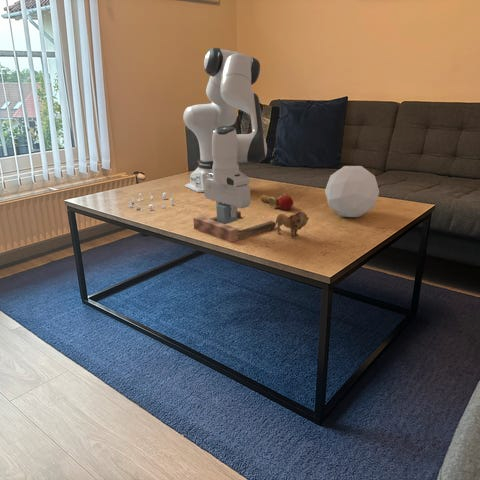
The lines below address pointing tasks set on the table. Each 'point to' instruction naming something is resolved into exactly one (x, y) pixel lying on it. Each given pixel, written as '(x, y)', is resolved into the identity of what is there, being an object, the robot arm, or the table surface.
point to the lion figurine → (291, 222)
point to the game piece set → (150, 204)
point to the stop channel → (228, 228)
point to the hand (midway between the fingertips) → (227, 215)
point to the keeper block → (225, 214)
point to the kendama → (279, 201)
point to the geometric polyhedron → (352, 191)
